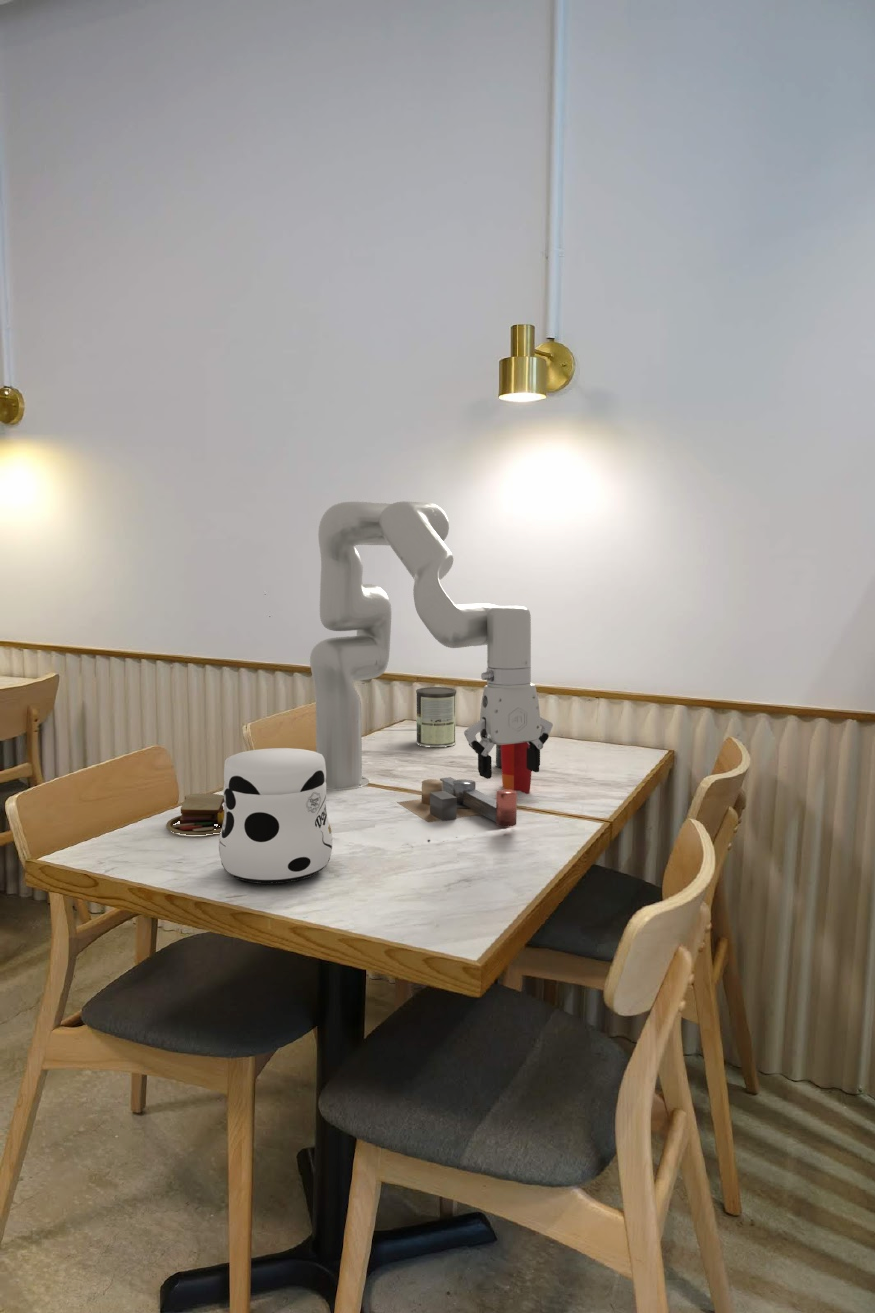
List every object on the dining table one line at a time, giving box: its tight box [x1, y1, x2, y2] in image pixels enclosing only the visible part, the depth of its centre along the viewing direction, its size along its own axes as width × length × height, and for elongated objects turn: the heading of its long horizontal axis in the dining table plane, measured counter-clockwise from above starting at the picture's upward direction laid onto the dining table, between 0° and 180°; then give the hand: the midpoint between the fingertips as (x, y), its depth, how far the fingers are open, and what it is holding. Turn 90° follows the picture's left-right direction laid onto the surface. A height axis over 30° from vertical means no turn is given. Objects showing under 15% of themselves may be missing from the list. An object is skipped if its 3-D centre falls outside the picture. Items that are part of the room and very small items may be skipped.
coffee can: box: [415, 686, 457, 748], centre depth 231 cm, size 10×10×14 cm
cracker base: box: [396, 791, 482, 823], centre depth 171 cm, size 16×14×5 cm
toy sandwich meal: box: [165, 793, 224, 835], centre depth 162 cm, size 12×14×5 cm
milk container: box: [218, 747, 333, 884], centre depth 139 cm, size 17×17×18 cm
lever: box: [439, 776, 518, 828], centre depth 168 cm, size 26×4×6 cm, turn 26°
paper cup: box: [501, 742, 533, 795], centre depth 186 cm, size 8×8×14 cm
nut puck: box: [421, 778, 443, 805], centre depth 174 cm, size 4×4×4 cm
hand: (509, 773), depth 157 cm, fingers open, 9 cm apart
